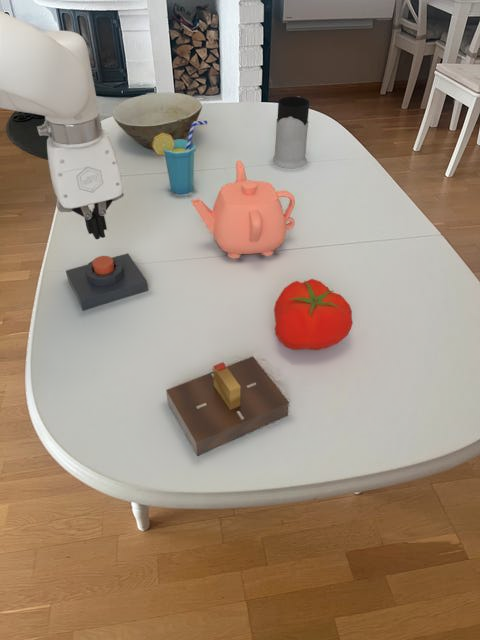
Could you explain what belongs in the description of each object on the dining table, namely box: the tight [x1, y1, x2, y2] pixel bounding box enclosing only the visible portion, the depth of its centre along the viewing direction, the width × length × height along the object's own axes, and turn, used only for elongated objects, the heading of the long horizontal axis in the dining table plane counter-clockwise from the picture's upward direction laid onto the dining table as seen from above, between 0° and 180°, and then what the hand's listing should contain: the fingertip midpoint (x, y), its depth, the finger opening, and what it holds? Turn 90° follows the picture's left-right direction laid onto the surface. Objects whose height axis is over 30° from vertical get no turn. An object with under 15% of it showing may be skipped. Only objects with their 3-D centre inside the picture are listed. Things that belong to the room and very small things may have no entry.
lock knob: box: [212, 362, 241, 410], centre depth 70 cm, size 5×2×4 cm, turn 28°
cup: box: [152, 120, 208, 195], centre depth 119 cm, size 14×8×15 cm, turn 129°
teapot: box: [191, 160, 296, 259], centre depth 102 cm, size 16×17×14 cm
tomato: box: [273, 278, 353, 351], centre depth 82 cm, size 14×13×9 cm
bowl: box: [112, 92, 203, 150], centre depth 141 cm, size 24×24×10 cm
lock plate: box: [165, 355, 290, 457], centre depth 73 cm, size 14×10×3 cm
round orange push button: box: [91, 255, 114, 275], centre depth 92 cm, size 4×4×2 cm
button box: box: [65, 253, 149, 311], centre depth 94 cm, size 12×10×4 cm
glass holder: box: [272, 95, 310, 169], centre depth 132 cm, size 9×14×15 cm, turn 166°
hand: (98, 234), depth 88 cm, fingers closed
